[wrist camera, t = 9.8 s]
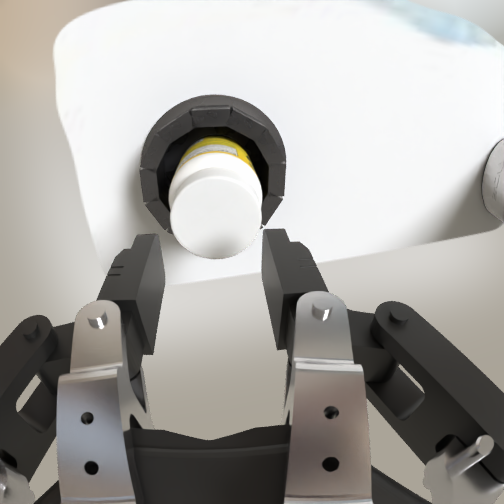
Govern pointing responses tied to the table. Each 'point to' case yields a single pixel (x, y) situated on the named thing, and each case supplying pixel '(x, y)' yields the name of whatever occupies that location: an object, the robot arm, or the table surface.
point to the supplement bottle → (215, 198)
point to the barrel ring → (205, 123)
